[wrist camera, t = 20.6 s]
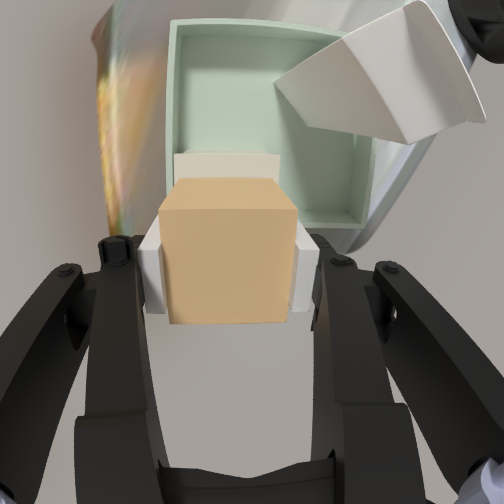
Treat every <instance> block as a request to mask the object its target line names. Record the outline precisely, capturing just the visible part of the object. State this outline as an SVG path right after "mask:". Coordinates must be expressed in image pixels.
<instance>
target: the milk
mask: <svg viewBox="0 0 504 504" xmlns="http://www.w3.org/2000/svg"><path fill="white" fill-rule="evenodd" d="M274 84H275V85H276V86H277V87H278V89H279V90H280V91H281V92H282V94H283V95H284V96H285V97H286V99H287V100H288V101H289V103H290V104H291V105H292V107H293V108H294V109H295V111H296V112H297V113H298V115H299V116H300V117H301V119H302V120H303V121H304V123H305V124H306V125H307V126H308V127H314V128H321V129H328V130H335V131H341V132H347V133H353V134H358V135H364V136H369V137H374V138H379V139H384V140H388V141H393V142H397V143H402V144H406V145H411V144H413V143H416V142H418V141H420V140H422V139H425V138H427V137H429V136H432V135H434V134H436V133H439V132H441V131H443V130H446V129H448V128H450V127H453V126H455V125H458V124H460V123H462V122H465V121H470V122H476V123H485V122H486V115H485V112H484V109H483V107H482V104H481V102H480V99H479V97H478V95H477V92H476V90H475V88H474V85H473V83H472V81H471V79H470V77H469V74H468V72H467V70H466V68H465V66H464V64H463V62H462V60H461V58H460V56H459V54H458V52H457V51H456V49H455V47H454V45H453V43H452V42H451V40H450V38H449V36H448V35H447V33H446V31H445V29H444V28H443V26H442V25H441V23H440V21H439V20H438V18H437V17H436V15H435V13H434V12H433V10H432V9H431V7H430V6H429V5H428V4H427V3H426V2H425V1H423V0H417V1H414V2H412V3H410V4H408V5H405V6H403V7H401V8H399V9H397V10H394V11H392V12H390V13H388V14H386V15H384V16H382V17H380V18H378V19H376V20H374V21H372V22H370V23H368V24H366V25H364V26H362V27H360V28H358V29H357V30H355V31H353V32H351V33H349V34H347V35H346V36H344V37H342V38H340V39H339V40H337V41H335V42H333V43H332V44H330V45H328V46H327V47H325V48H324V49H322V50H320V51H319V52H317V53H316V54H314V55H312V56H311V57H309V58H308V59H306V60H305V61H303V62H301V63H300V64H298V65H297V66H295V67H294V68H292V69H291V70H289V71H288V72H286V73H285V74H284V75H282V76H281V77H279V78H278V79H276V80H275V81H274Z"/></svg>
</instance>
